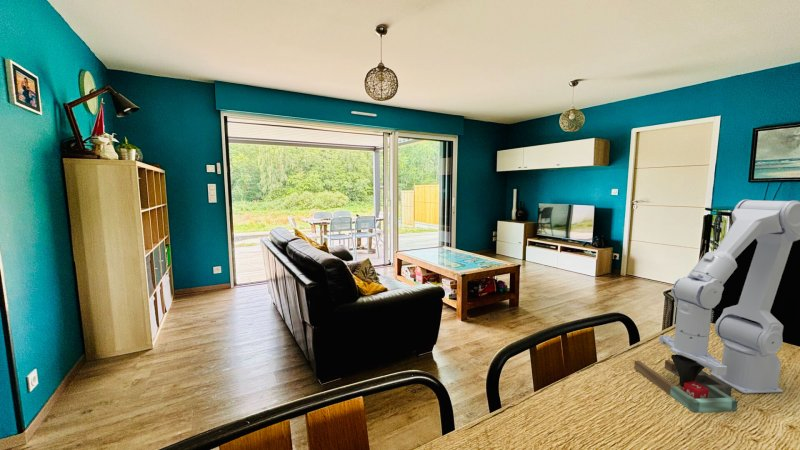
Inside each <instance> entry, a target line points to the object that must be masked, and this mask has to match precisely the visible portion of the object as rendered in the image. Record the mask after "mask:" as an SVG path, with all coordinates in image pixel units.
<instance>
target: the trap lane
mask: <svg viewBox="0 0 800 450" xmlns="http://www.w3.org/2000/svg"><path fill="white" fill-rule="evenodd" d="M633 363H634V365H633V367H634V368H633V369H634V370H635V371H636V372H638V373H639V374H641V375H642V376H643V377H645V378H646V379H647V380H649V381H650V382H652V383H653V384H654V385H655V386H657V387H658V388H660V389H661V390H662V391H663V392H665V393H667V394H668V395H669V397H670V396H671V397H672V398H673V399H675V400H676V401H677V402H678V403H680V404H681V405H683V407H685V408H687V409H688V410H689V411H691V412H692V413H711V412H713V413H714V412H717V413H718V412H737V410H738V400H736V399H735V398H733V397H732V391H733V387H731V386H730V385H728V384H726V383H725V382H723V381H721V380H719V379H718V378H716V377H714V376H712V375H711V374H710V373H708V372H705V371H704V370H702V371H701V372H700V373H699V374H698V375H697V377H696V378H695V382H697V383H699V384H700V385H702V386H704V387H706V388H708V389H709V393H708V398H703V399H694V398H693V397H691V396H690V395H688V394H687V393H685V392H684V391H683V389H681V388H680V387H678V386H677V385H675V384H674V383H672V382H671V381H669V379H667V378H665V377H663V375H661V374H659V373H658V372H656V371H655V370H653V369H652V368H650V367H649V366H648V365H646V364H645V363H643V362H642V361H640V360H634V362H633ZM664 368H665V369H666V370H667V371H669V372H670V373H671V374H673V375H675V376H677V377H678V378H679V374H678V371H677V368H676V366H675V364H674V362H673V360H672V359H665V361H664Z"/></svg>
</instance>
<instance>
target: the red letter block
mask: <svg viewBox="0 0 800 450" xmlns="http://www.w3.org/2000/svg"><path fill="white" fill-rule="evenodd" d="M682 390H683V391H684V392H685V393H687V394H688V395H690V396H691V397H693V398H694V399H703V398H709V396H708V393H709V389H708V388H706V387H704V386H702V385H700V384H699V383H697V382H695V381H692V382H687V383H684V387H683V388H682Z"/></svg>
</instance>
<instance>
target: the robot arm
mask: <svg viewBox="0 0 800 450" xmlns="http://www.w3.org/2000/svg"><path fill="white" fill-rule="evenodd" d="M731 220H732V224H731V226H730V227H729V229H728V230H727V232H726V233H725V236H724V237H723V239H722V240H721V242H720V243H719V245H718V246H717V248H716V250H714V251H708V252H706V253H704V255H703V256H702V257H701V258H700V259H699V261H698V262H697V263H696V264H695V266H694V267H693V269H692V270H691V271H690V272H689V273H688V275H687V276H683V277H681V278H678V279H677V280H676V281H674V283H673V286H672V288H671V296H672V297H673V300H674V304H673V305H674V306H675V308H676V317H675V326H674V337H672V336H669V335H667V334H665V335H664V334H663V335H659V337H658V338H659V340H658V342H659V344H661V345H666V346H667V347H669V351H670V352H671V353H673V354H671V355H670V358H671V361H673V362H674V364H675V366H676V368H677V371H678V374H679V377H678V378H679V379H678V381H679V386H680V387H681V388H682V389H683V387H684V383H687V382H692V381H695V378H696V377H697V375H698V374H699V373H700V372H701V371H704V369H705V368H706V369H708V370H710V371H711V372H710V373H709V375H711V376H713V377H714V378H716V379H718V380H719V381H721V382H723V383H725V384H726V385H728V386H730V387H732V389H735V390H737V391H739V392H740V393H743V394H764V393H765V394H766V393H767V394H769V393H771V394H773V393H783V389H781V388H780V387H779V383H780V375H781V366H782V365H781V363H782V362H781V361H780V358H779V357H778V355H777V354H776V353H778V352H779V351H780V350H781V348H782V346H783V332H784V325H783V324H782V323H781V322H780V320H778V319H777V318H776V317H775V316H774V315H773V314H772V313H771V309H772V306H773V304H774V300H775V297H776V295H777V291H778V288H779V285H780V282H781V279H782V275H783V273H784V270H785V267H786V264H787V261H788V257H789V255H790V251H791V250H792V249H791V248H792V246H793V243H794V242H797V241H799V240H800V200H758V199H757V200H754V199H753V200H752V199H742V200H740V201H739V202H738V203H737V204H736V205H735V206H734V209H733V210H732V211H731ZM754 240H756V242H757V244H756V248H755V251H754V254H753V257H752V260H751V263H750V266H749V270H748V272H747V275H746V279H745V282H744V285H743V287H742V291H741V295H740V296H739V300H738V303H737V304H736V305H735V304H734V305H731V306H729V307H725V308H723V310H722V313H721V315H720V317H718V319H717V320H716V321H715V325H714V329H715V330H714V331H715V334H716V335H717V337H718V338H720V343H722V344H723V349H722V350H723V351H722V361H721V362H722V363H721V362H720V361H718V359H716V358H715V357H714V356H713V355H711V354H710V353H709V352H708V350H709V340H710V331H711V330H710V329H711V319H712V311H713V308H715V307H716V306H717V305H719V304H720V301H721V299H722V296H723V295H722V294H723V291H724V289H725V287H724V284H725V283H726V282H727V280H728V279H729V278H730V276H731V275H732V274H734V271H735V270H736V269H737V268H738V264H737V261H736V258H738V256H740V255H741V254H742V252H743V251H744V250H745V249H746V248H747V247H748V246H749V245H750V244H751V243H752V242H753V241H754ZM749 320H750V321H749ZM752 321H754V322H752Z"/></svg>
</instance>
